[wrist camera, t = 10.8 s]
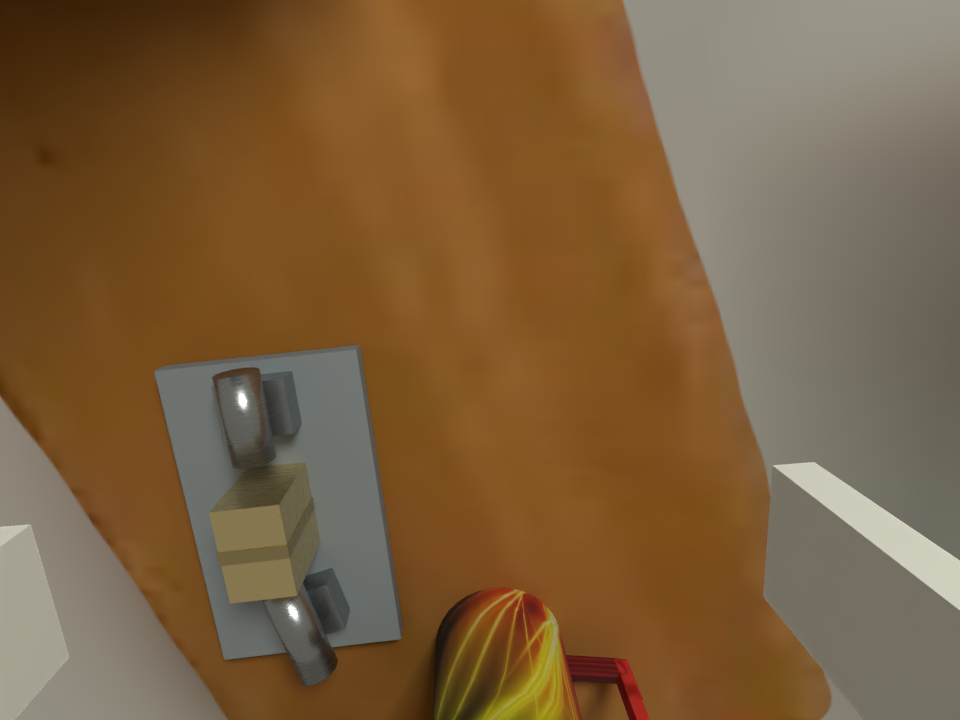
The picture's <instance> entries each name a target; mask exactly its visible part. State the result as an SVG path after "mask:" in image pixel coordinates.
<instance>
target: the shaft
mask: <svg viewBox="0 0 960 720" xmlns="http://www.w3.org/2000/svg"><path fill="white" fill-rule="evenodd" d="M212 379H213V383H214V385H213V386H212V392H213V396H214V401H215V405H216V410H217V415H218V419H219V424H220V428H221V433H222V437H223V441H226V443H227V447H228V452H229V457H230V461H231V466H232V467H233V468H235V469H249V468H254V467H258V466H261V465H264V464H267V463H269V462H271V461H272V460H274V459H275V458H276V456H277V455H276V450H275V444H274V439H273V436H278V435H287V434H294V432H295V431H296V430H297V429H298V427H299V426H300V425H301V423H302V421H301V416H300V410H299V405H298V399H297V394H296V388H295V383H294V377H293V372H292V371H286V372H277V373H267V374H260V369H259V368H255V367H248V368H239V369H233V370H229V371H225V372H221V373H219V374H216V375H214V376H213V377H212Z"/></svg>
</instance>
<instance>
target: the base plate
mask: <svg viewBox="0 0 960 720" xmlns="http://www.w3.org/2000/svg"><path fill="white" fill-rule="evenodd" d="M248 367H255V368H259V369H260V374H267V373H277V372H286V371H292V372H293V377H294V383H295V388H296V394H297V399H298V405H299V410H300V416H301V421H302V423H301V425H300V426H299V427H298V429H297V430H296V431H295V432H294V434H287V435H278V436H273V439H274V444H275V450H276V455H277V456H276V458H275V459H274V460H272V461H271V462H269V463H267V464H264V465H261V466H258V467H266V466H275V465H285V464H294V463H303V462H306V466H307V472H308V477H309V483H310V488H311V493H312V497H313V500H314V506H315V508H314V510H315V515H316V520H317V526H318V531H319V537H320V543H319V546H318V548H317V550H316V553H315V555H314V558H313V560H312V562H311V565H310V567H309V569H308V572H307V574H306V576H307V575H310V574H313V573H317V572H320V571H323V570H326V569H329V568H333V570H334V572H335V575H336V577H337V579H338V582H339V584H340V586H341V588H342V591H343V593H344V595H345V598H346V600H347V602H348V605H349V607H350V613H349V617H348V620H347V624H346V628H345V629H342V630H338V631H335V632H332V633H329V634H326V635H327V637H328V639H329V642H330V644H331V646H332V647H338V646H347V645H355V644H364V643H372V642H381V641H390V640H398V639H401V635H402V628H403V623H402V617H401V610H400V603H399V597H398V590H397V584H396V577H395V571H394V564H393V558H392V551H391V545H390V538H389V531H388V525H387V518H386V512H385V505H384V499H383V492H382V486H381V479H380V473H379V466H378V459H377V453H376V446H375V440H374V433H373V427H372V420H371V414H370V407H369V401H368V394H367V388H366V381H365V374H364V368H363V361H362V355H361V348H360V345H354V346H344V347H335V348H325V349H316V350H307V351H297V352H288V353H278V354H269V355H260V356H250V357H241V358H231V359H222V360H212V361H203V362H194V363H184V364H175V365H166V366H164V367H161V368H159V369H157V370H155V371H154V373H155V377H156V381H157V385H158V389H159V393H160V397H161V402H162V406H163V410H164V414H165V418H166V422H167V426H168V430H169V434H170V439H171V443H172V447H173V451H174V455H175V459H176V463H177V467H178V471H179V476H180V480H181V484H182V488H183V492H184V496H185V500H186V504H187V508H188V513H189V517H190V521H191V525H192V529H193V533H194V537H195V541H196V545H197V550H198V554H199V558H200V562H201V566H202V570H203V574H204V578H205V582H206V587H207V591H208V595H209V599H210V603H211V607H212V611H213V615H214V619H215V624H216V628H217V632H218V636H219V640H220V644H221V648H222V652H223V656H224V660H227V659H236V658H244V657H253V656H261V655H270V654H278V653H287V652H286V650H285V648H284V646H283V644H282V642H281V639H280V637H279V635H278V633H277V631H276V629H275V627H274V625H273V623H272V621H271V619H270V616H269V614H268V612H267V610H266V608H265V606H264V604H263V602H262V600H258V601H249V602H240V603H231V604H230V602H229V597H228V593H227V589H226V585H225V580H224V576H223V572H222V567H221V566H219V562H218V558H217V553H218V550H217V546H216V542H215V537H214V533H213V529H212V525H211V520H210V516H209V512H210V511H211V509H212V508H213V507H214V506H215V505H216V504H217V502H218V501H219V500H220V499H221V498H222V497H223V495H224V494H225V493H226V492H227V491H228V490H229V488H230V487H231V486H232V485H233V484H234V483H235V481H236V480H237V479H238V478H239V477H240V476H241V474H242V473H243V472H244V471H245V470H246V469H235V468H233V467H232V466H231V461H230V457H229V452H228V447H227V443H226V441H223V437H222V433H221V428H220V424H219V419H218V415H217V410H216V405H215V401H214V396H213V392H212V386H213V385H214V383H213V379H212V377H213V376H214V375H216V374H219V373H221V372H225V371H229V370H233V369H239V368H248ZM254 468H257V467H254Z"/></svg>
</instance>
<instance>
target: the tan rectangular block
mask: <svg viewBox="0 0 960 720" xmlns="http://www.w3.org/2000/svg"><path fill="white" fill-rule="evenodd" d="M314 508H315V506H314V500H313V497H312V493H311V488H310V483H309V477H308V472H307V466H306V462H303V463H294V464H285V465H275V466H266V467H257V468H249V469H246V470H245V471H244V472H243V473H242V474H241V476H240V477H239V478H238V479H237V480H236V481H235V483H234V484H233V485H232V486H231V487H230V488H229V490H228V491H227V492H226V493H225V494H224V495H223V497H222V498H221V499H220V500H219V501H218V502H217V504H216V505H215V506H214V507H213V508H212V509H211V511H210V512H209V516H210V520H211V525H212V529H213V533H214V537H215V542H216V546H217V550H218V553H217V558H218V562H219V566H221V567H222V572H223V576H224V580H225V585H226V589H227V593H228V597H229V602H230V604H231V603H240V602H249V601H258V600H266V599H275V598H284V597H293V596H297V595H298V593H299V590H300V588H301V586H302V583H303V581H304V579H305V576H306V574H307V572H308V569H309V567H310V565H311V562H312V560H313V558H314V555H315V553H316V550H317V548H318V546H319V543H320V537H319V531H318V526H317V520H316V515H315V510H314Z"/></svg>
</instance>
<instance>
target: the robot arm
mask: <svg viewBox="0 0 960 720" xmlns="http://www.w3.org/2000/svg"><path fill="white" fill-rule="evenodd" d="M771 483H772V484H771V496H770V510H769V523H768V537H767V551H766V565H765V579H764V593H763V597H764V599H765V600H766V601H767V602H768V604H769V605H770V606H771V607H772V608H773V610H774V611H775V612H776V613H777V615H778V616H779V617H780V618H781V619H782V621H783V622H784V623H785V624H786V626H787V627H788V628H789V629H790V630H791V632H792V633H793V634H794V635H795V637H796V638H797V639H798V640H799V641H800V643H801V644H802V645H803V646H804V648H805V649H806V650H807V651H808V652H809V654H810V655H811V656H812V657H813V658H814V660H815V661H816V662H817V663H818V665H819V666H820V667H821V668H822V669H823V671H824V672H825V673H826V674H827V676H828V677H829V678H830V679H831V680H832V682H833V683H834V684H835V685H836V686H837V688H838V689H839V690H840V691H841V693H842V694H843V695H844V696H845V697H846V699H847V700H848V701H849V702H850V704H851V705H852V706H853V707H854V709H855V710H856V711H857V712H858V713H859V715H860V716H861V717H862V718H863V720H960V561H959V560H958V559H957V558H955V557H954V556H952V555H950V554H949V553H948V552H946V551H945V550H943V549H942V548H940V547H939V546H937V545H935V544H934V543H933V542H931V541H930V540H928V539H927V538H925V537H924V536H922V535H921V534H919V533H918V532H917V531H915V530H913V529H912V528H911V527H909V526H908V525H906V524H905V523H903V522H902V521H900V520H899V519H897V518H896V517H894V516H892V515H891V514H890V513H888V512H887V511H886V510H884V509H882V508H881V507H880V506H878V505H877V504H875V503H874V502H872V501H871V500H869V499H868V498H866V497H865V496H863V495H862V494H860V493H859V492H857V491H856V490H855V489H853V488H852V487H850V486H849V485H847V484H845V483H844V482H843V481H841V480H840V479H838V478H837V477H835V476H834V475H832V474H831V473H829V472H828V471H826V470H825V469H823V468H822V467H821V466H819V465H817V464H816V463H815V462H811V463H798V464H785V465H773V468H772V482H771ZM68 658H69V654H68V651H67V647H66V644H65V640H64V637H63V634H62V630H61V627H60V623H59V620H58V616H57V613H56V609H55V606H54V603H53V599H52V596H51V592H50V589H49V585H48V582H47V578H46V575H45V571H44V568H43V565H42V561H41V558H40V554H39V551H38V547H37V544H36V541H35V537H34V534H33V530H32V527H31V525H17V526H5V527H0V720H15V719H16V718H17V717H18V716H19V715H20V713H21V712H22V711H23V710H24V709H25V708H26V706H27V705H28V704H29V703H30V702H31V701H32V699H34V697H35V696H36V695H37V694H38V693H39V692H40V690H41V689H42V688H43V687H44V686H45V685H46V683H47V682H48V681H49V680H50V679H51V678H52V677H53V676H54V674H55V673H56V672H57V671H58V670H59V669H60V668H61V666H62V665H63V664H64V663H65V662H66V661H67V659H68Z"/></svg>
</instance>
